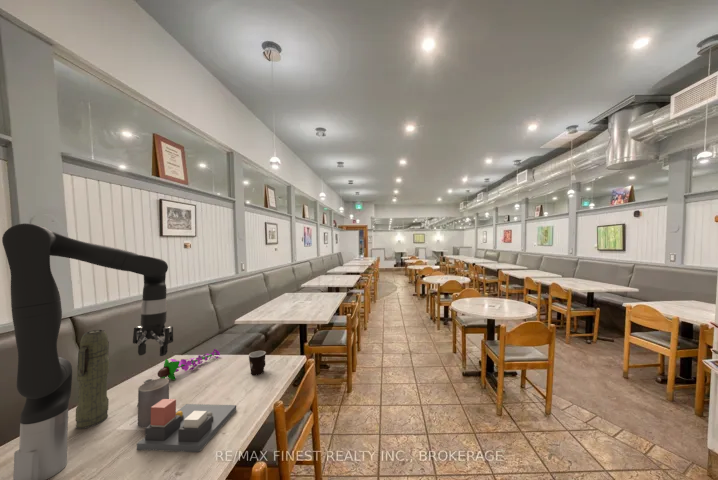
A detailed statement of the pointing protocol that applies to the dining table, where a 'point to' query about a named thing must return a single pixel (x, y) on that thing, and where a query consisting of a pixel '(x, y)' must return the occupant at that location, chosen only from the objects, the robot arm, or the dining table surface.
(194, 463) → the dining table surface
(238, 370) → the dining table surface
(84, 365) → the thermos
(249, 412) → the dining table surface
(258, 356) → the coffee mug
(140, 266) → the robot arm
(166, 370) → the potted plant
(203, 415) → the block
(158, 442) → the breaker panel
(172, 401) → the cap
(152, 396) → the pillar candle
